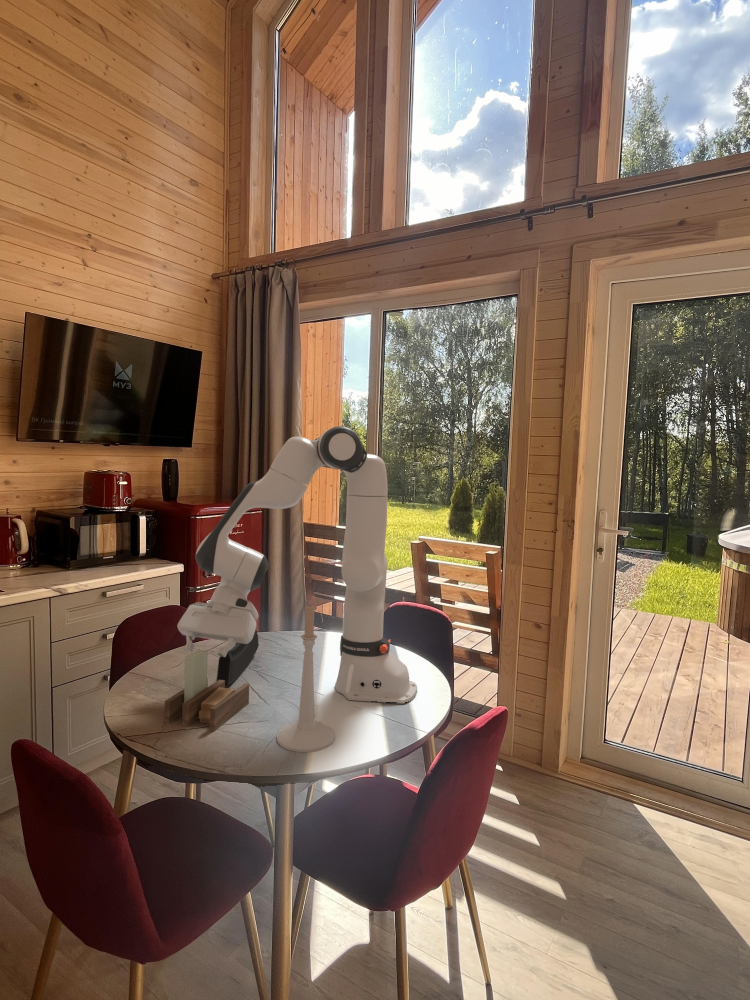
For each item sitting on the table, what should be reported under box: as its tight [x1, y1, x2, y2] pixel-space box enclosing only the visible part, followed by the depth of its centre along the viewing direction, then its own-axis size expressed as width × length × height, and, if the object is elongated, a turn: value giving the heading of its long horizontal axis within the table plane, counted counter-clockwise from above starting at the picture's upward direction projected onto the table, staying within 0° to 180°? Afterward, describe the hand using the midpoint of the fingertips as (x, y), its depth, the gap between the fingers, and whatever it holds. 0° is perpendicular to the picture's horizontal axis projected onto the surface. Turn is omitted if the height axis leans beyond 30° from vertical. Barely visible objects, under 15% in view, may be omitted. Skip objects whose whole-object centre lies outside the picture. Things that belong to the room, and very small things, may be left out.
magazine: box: [215, 629, 260, 688], centre depth 166 cm, size 17×3×30 cm
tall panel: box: [183, 649, 209, 703], centre depth 139 cm, size 2×6×14 cm, turn 165°
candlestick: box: [276, 605, 336, 753], centre depth 127 cm, size 13×13×30 cm
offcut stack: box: [199, 687, 235, 724], centre depth 138 cm, size 4×11×4 cm, turn 171°
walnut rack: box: [164, 677, 250, 732], centre depth 138 cm, size 13×16×5 cm
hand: (204, 653), depth 143 cm, fingers open, 8 cm apart
